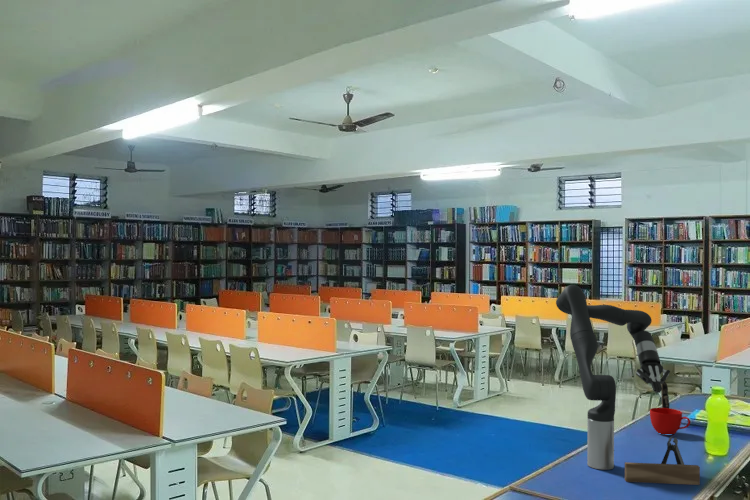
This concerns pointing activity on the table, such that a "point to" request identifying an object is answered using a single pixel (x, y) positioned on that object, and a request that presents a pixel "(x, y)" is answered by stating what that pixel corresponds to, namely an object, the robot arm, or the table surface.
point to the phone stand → (674, 449)
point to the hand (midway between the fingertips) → (658, 391)
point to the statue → (664, 395)
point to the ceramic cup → (667, 420)
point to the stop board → (662, 473)
